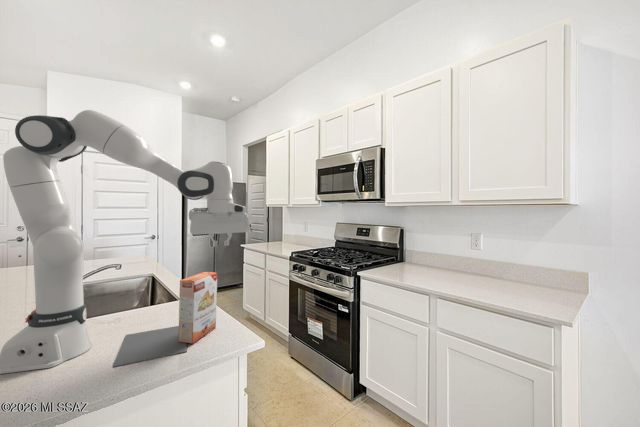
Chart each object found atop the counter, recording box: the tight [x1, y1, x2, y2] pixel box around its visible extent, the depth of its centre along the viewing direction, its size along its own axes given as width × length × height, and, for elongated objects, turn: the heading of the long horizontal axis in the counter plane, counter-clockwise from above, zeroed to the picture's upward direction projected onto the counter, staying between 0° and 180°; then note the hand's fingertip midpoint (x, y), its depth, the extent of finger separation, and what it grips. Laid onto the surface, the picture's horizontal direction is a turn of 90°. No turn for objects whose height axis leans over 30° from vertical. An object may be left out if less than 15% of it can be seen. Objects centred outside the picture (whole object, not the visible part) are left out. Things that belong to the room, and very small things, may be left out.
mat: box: [112, 325, 188, 368], centre depth 95 cm, size 19×22×1 cm
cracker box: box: [178, 271, 218, 345], centre depth 101 cm, size 14×6×21 cm, turn 168°
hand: (220, 245), depth 104 cm, fingers open, 3 cm apart
